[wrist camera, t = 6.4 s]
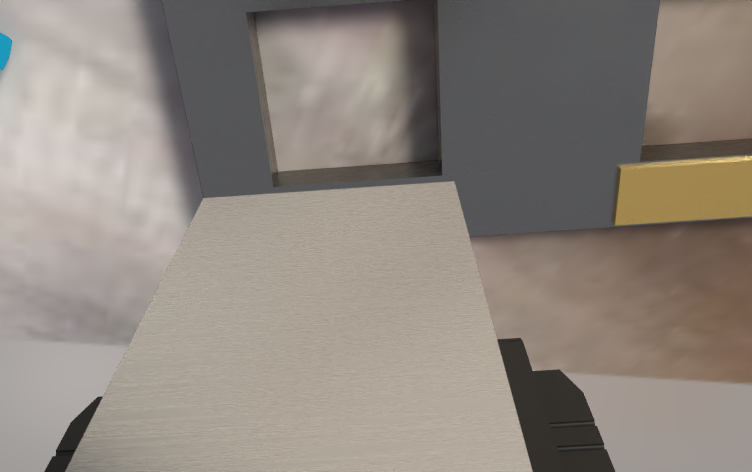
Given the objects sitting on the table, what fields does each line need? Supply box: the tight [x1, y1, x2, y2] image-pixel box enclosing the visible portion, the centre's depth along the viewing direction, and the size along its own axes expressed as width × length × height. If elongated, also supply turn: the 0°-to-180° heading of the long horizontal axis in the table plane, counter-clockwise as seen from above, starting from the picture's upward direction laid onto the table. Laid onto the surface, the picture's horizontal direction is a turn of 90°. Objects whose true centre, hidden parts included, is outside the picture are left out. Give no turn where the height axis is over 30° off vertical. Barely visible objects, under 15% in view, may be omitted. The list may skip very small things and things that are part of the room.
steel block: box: [65, 181, 533, 472], centre depth 10 cm, size 4×4×8 cm
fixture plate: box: [162, 0, 752, 237], centre depth 25 cm, size 26×12×2 cm, turn 94°
